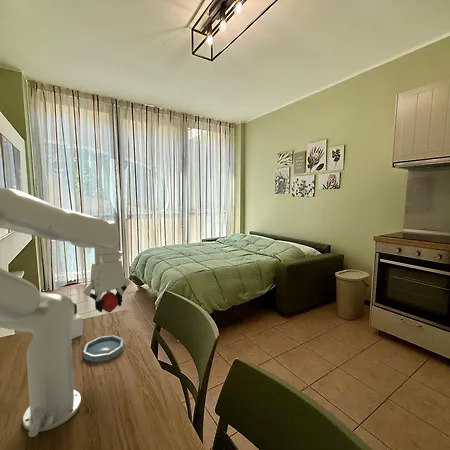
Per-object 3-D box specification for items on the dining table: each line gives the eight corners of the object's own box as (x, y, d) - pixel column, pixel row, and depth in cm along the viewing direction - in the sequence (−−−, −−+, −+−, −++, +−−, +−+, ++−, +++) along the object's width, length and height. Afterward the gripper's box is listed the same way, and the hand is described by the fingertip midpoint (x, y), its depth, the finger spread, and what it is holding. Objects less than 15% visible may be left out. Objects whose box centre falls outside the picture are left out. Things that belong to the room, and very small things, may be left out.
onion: (101, 309, 91) (100, 288, 90) (118, 307, 93) (118, 286, 92) (99, 317, 85) (98, 294, 84) (118, 314, 87) (117, 292, 86)
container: (74, 329, 108) (73, 299, 107) (83, 335, 104) (81, 304, 102) (53, 336, 102) (52, 305, 100) (62, 343, 97) (60, 311, 96)
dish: (122, 358, 89) (122, 352, 89) (79, 365, 85) (79, 359, 85) (124, 338, 101) (124, 333, 101) (87, 343, 97) (87, 338, 97)
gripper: (126, 251, 95) (128, 297, 98) (75, 259, 83) (78, 312, 85) (136, 255, 90) (137, 303, 92) (83, 264, 78) (86, 320, 80)
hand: (109, 307), depth 89 cm, fingers closed on onion, 5 cm apart
